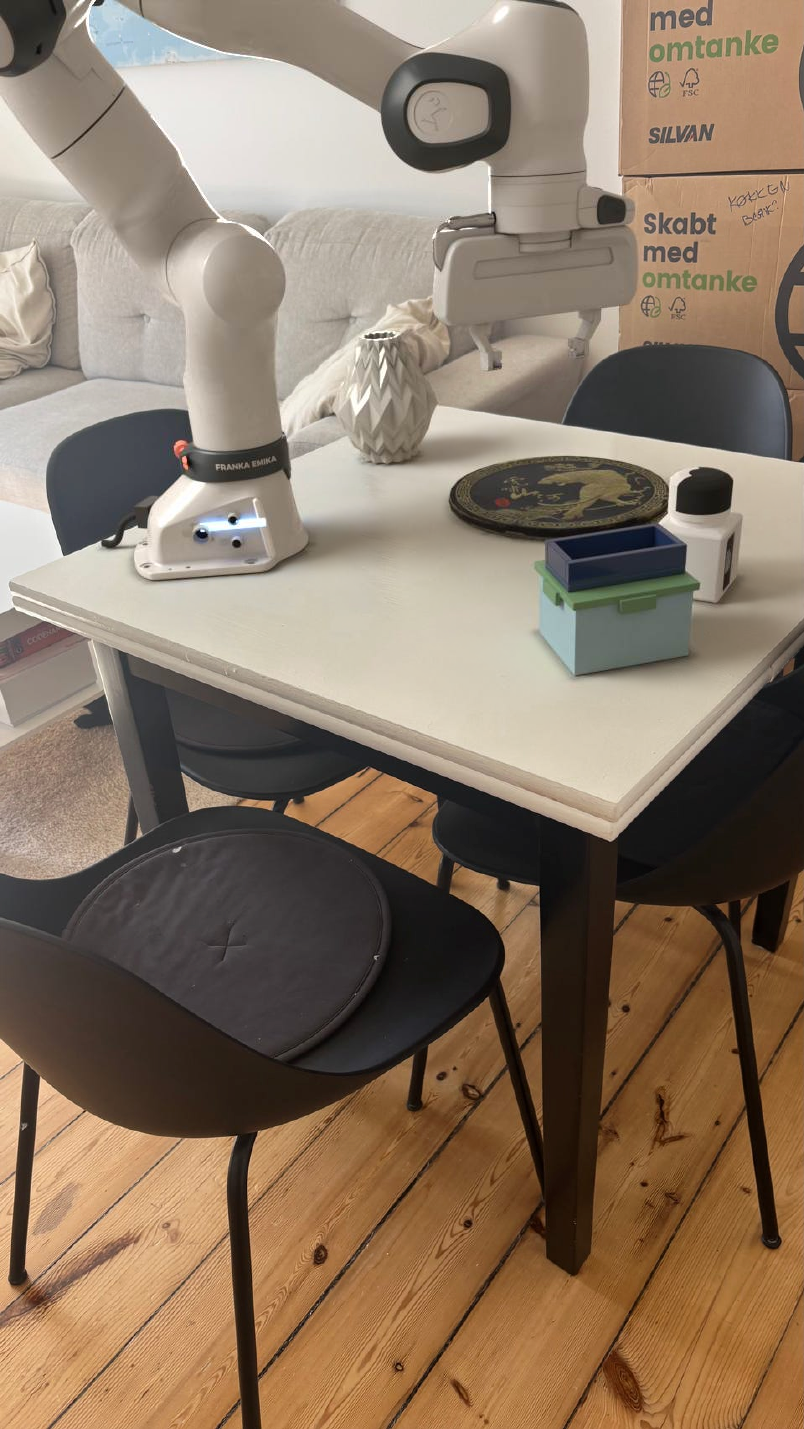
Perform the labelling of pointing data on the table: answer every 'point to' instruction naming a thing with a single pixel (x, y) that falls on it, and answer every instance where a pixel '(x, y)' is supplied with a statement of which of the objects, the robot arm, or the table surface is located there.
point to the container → (705, 528)
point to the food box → (616, 621)
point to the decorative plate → (558, 497)
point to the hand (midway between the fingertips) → (535, 363)
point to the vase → (384, 399)
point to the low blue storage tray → (615, 557)
